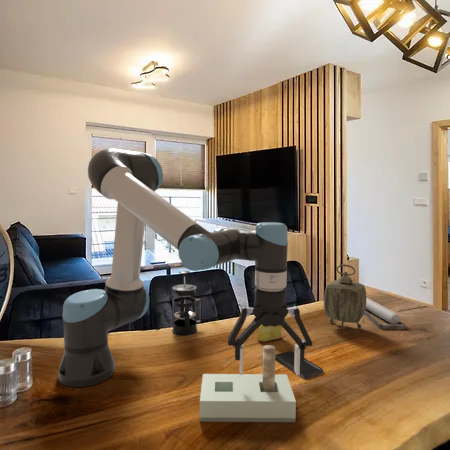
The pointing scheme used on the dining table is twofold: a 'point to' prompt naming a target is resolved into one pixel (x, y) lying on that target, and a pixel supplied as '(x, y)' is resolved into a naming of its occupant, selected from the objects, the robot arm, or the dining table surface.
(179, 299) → the french press
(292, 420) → the hole block
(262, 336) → the chocolate bunny
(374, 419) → the dining table surface
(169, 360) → the dining table surface
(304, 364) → the phone
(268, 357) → the birch pin
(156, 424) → the dining table surface
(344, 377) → the dining table surface
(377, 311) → the tube
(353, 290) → the tabletop clock
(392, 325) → the tube tray
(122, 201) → the robot arm
